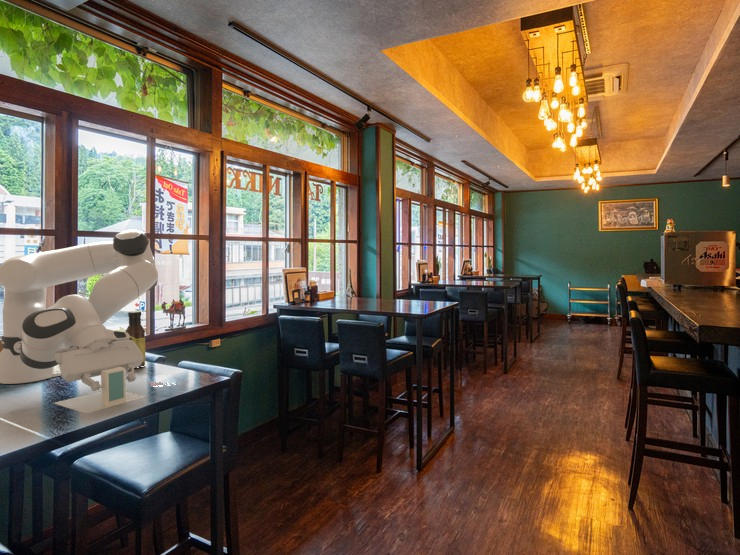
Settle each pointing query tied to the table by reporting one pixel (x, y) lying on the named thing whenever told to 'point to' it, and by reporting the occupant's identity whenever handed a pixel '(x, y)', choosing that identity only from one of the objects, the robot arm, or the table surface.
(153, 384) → the mobile phone
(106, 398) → the card deck
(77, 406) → the bar mat
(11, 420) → the table surface
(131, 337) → the sauce bottle
